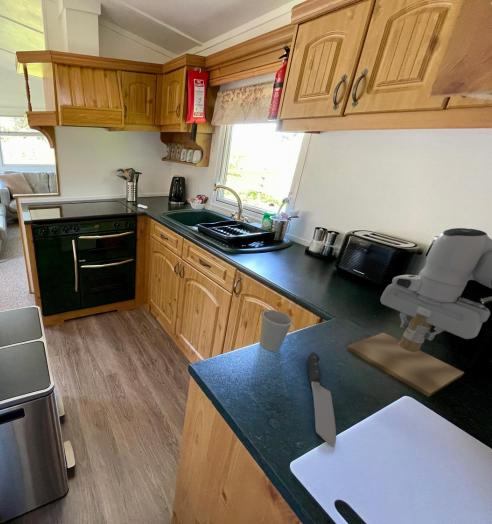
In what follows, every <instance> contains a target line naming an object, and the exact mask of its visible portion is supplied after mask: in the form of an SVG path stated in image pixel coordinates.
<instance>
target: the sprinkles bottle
mask: <svg viewBox="0 0 492 524" xmlns="http://www.w3.org/2000/svg"><path fill="white" fill-rule="evenodd" d="M416 312H417V313H416V314H417V315H416V316H415V317H412V316H411V318H410V319H411V320H409V321H408V322H409V324H408V327H407V329H405V331H404V333H403V334H402V337H401V339H400V342H399V346H400V347H401V348H403V349H405V350H407V351H410V352H414V353H417V352H419V350H421V347H422V345H423V343H424V342H425V340H426V339H425V338H424V336H425V333H427V332H431V329H432V326H433V325H431V324H429V323H426V319H427V317H430V315H431V313H432V312H431V311H430V310H427V309H425V308H422V307H418V309H417V311H416Z"/></svg>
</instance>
